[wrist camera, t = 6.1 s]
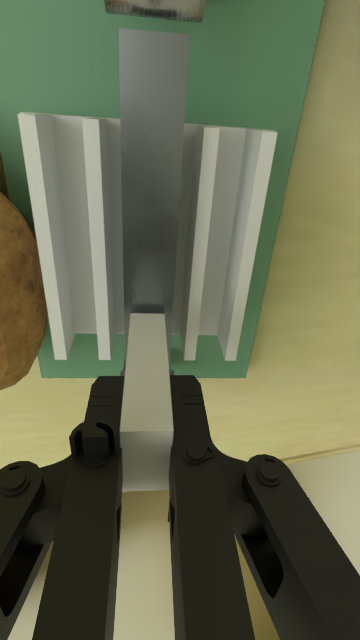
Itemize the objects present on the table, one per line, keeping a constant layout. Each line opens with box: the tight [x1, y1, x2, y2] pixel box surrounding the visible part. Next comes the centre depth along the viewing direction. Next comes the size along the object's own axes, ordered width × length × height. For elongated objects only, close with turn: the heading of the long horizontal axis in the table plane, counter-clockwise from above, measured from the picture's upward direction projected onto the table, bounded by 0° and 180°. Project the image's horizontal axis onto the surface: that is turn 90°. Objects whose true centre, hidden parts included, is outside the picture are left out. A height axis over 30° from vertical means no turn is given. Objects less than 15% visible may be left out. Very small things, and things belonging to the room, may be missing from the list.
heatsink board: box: [0, 0, 325, 378], centre depth 17 cm, size 24×15×8 cm, turn 176°
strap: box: [104, 0, 205, 376], centre depth 14 cm, size 17×3×1 cm, turn 176°
